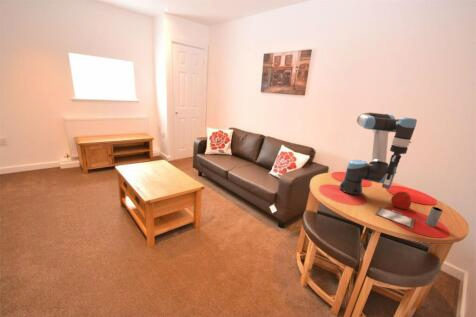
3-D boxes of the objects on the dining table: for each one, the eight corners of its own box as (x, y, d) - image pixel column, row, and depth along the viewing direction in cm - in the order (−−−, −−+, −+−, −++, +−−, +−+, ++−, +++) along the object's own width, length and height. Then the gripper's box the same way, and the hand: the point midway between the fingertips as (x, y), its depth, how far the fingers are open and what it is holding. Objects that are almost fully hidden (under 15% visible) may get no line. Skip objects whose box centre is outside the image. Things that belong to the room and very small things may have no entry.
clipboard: (375, 214, 125) (375, 212, 125) (379, 207, 134) (380, 205, 134) (412, 228, 113) (413, 227, 113) (414, 219, 123) (415, 218, 122)
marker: (381, 187, 124) (388, 166, 120) (383, 185, 127) (390, 165, 123) (388, 189, 122) (395, 168, 118) (390, 187, 124) (397, 166, 120)
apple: (399, 202, 143) (403, 188, 140) (413, 210, 133) (418, 196, 130) (386, 202, 141) (391, 188, 138) (399, 211, 131) (405, 196, 128)
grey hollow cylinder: (423, 222, 121) (429, 206, 118) (430, 222, 121) (436, 206, 118) (430, 226, 117) (437, 211, 114) (438, 227, 117) (445, 211, 114)
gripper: (404, 149, 108) (391, 189, 116) (410, 145, 119) (398, 182, 127) (388, 145, 114) (376, 184, 121) (395, 142, 125) (383, 178, 132)
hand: (387, 183), depth 124 cm, fingers closed on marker, 4 cm apart
